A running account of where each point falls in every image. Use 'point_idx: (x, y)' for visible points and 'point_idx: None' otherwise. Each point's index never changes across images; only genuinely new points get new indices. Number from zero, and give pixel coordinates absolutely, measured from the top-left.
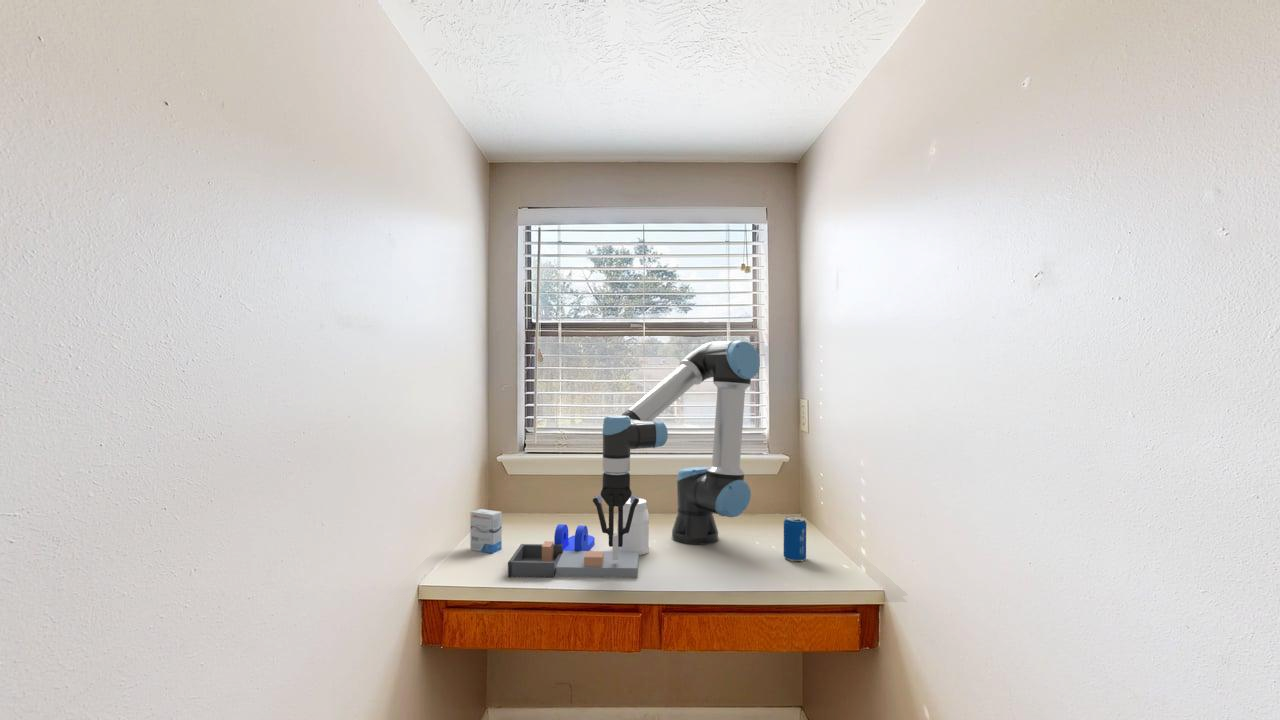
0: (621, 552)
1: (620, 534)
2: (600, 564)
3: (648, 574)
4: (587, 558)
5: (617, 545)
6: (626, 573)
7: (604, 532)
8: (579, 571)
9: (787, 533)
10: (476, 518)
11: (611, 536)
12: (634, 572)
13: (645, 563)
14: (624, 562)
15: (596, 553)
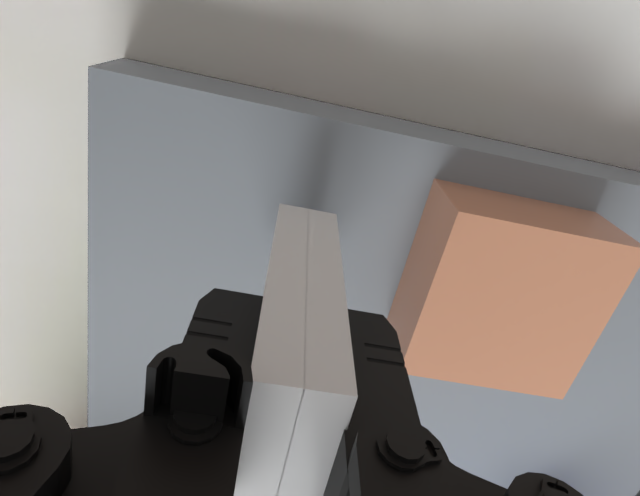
0: None
1: (194, 367)
2: (456, 188)
3: (25, 122)
4: (606, 237)
5: (276, 281)
6: (215, 83)
7: (538, 480)
8: (624, 175)
9: None
10: None
11: (371, 415)
12: (135, 69)
13: (62, 347)
14: (214, 248)
15: (487, 330)
